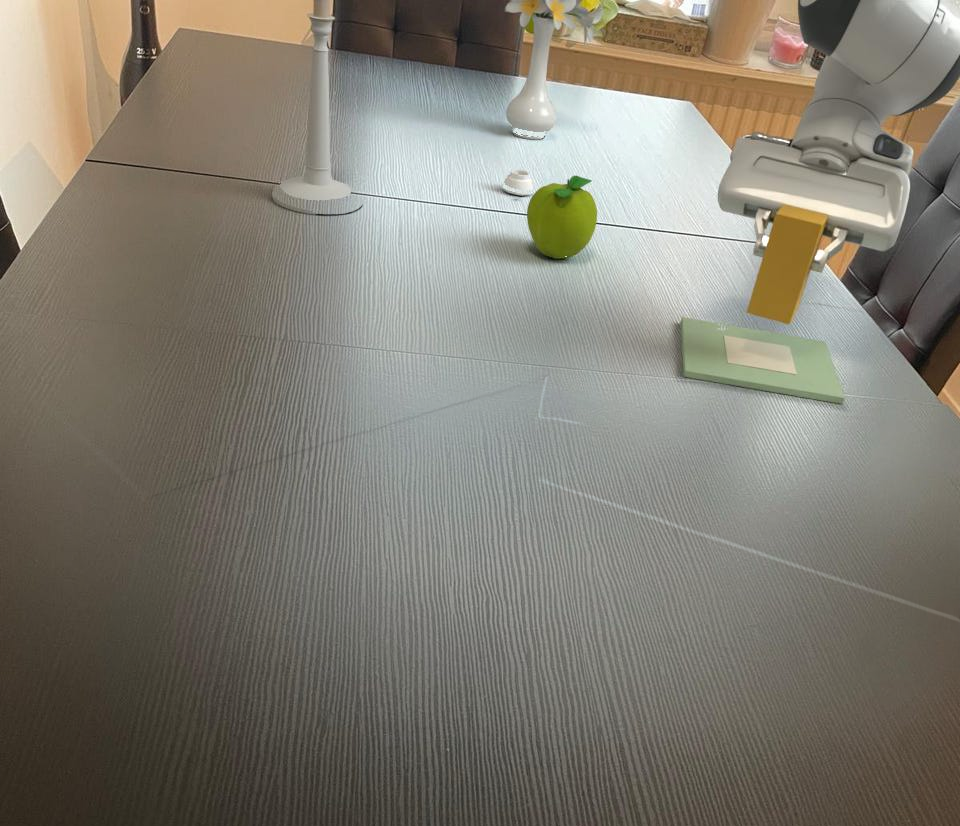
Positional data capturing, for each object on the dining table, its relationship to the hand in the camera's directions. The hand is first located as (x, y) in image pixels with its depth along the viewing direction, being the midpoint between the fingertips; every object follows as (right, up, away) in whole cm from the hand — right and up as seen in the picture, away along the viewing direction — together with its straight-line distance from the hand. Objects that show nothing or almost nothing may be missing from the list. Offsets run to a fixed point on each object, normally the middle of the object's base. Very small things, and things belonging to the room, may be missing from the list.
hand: (787, 261), depth 112 cm
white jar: (-28, +29, +48) cm, 63 cm away
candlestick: (-57, +21, +34) cm, 70 cm away
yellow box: (0, -4, +4) cm, 6 cm away
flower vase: (-24, +52, +77) cm, 96 cm away
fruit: (-24, +11, +28) cm, 38 cm away
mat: (-1, -9, +8) cm, 12 cm away
